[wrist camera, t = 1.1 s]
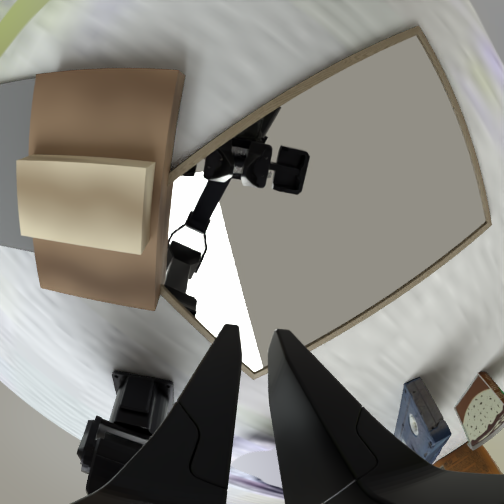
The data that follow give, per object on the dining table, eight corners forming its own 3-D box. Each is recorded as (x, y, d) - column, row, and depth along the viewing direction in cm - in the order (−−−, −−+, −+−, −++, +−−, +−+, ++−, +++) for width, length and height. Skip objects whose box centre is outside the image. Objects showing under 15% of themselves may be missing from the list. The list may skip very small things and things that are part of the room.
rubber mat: (51, 251, 20) (47, 254, 20) (-16, 238, 19) (-19, 241, 19) (55, 76, 15) (50, 76, 14) (-19, 89, 13) (-23, 89, 13)
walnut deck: (161, 292, 23) (154, 311, 20) (54, 272, 21) (40, 287, 19) (185, 75, 16) (178, 70, 14) (55, 76, 15) (36, 74, 12)
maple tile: (149, 240, 18) (141, 254, 16) (36, 224, 17) (20, 235, 15) (155, 162, 16) (146, 168, 14) (33, 154, 15) (16, 160, 13)
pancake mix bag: (424, 466, 54) (452, 540, 29) (482, 429, 50) (516, 500, 25) (428, 469, 57) (453, 538, 31) (481, 434, 52) (513, 500, 27)
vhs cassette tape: (405, 432, 39) (423, 477, 30) (390, 439, 39) (407, 484, 30) (423, 373, 31) (455, 431, 22) (403, 381, 31) (434, 443, 22)
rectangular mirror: (411, 28, 15) (107, 226, 21) (418, 25, 14) (102, 231, 20) (485, 221, 22) (252, 372, 28) (491, 224, 21) (253, 379, 27)
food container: (471, 403, 39) (492, 440, 30) (450, 412, 38) (471, 452, 29) (502, 358, 33) (531, 396, 24) (482, 366, 33) (511, 409, 24)
